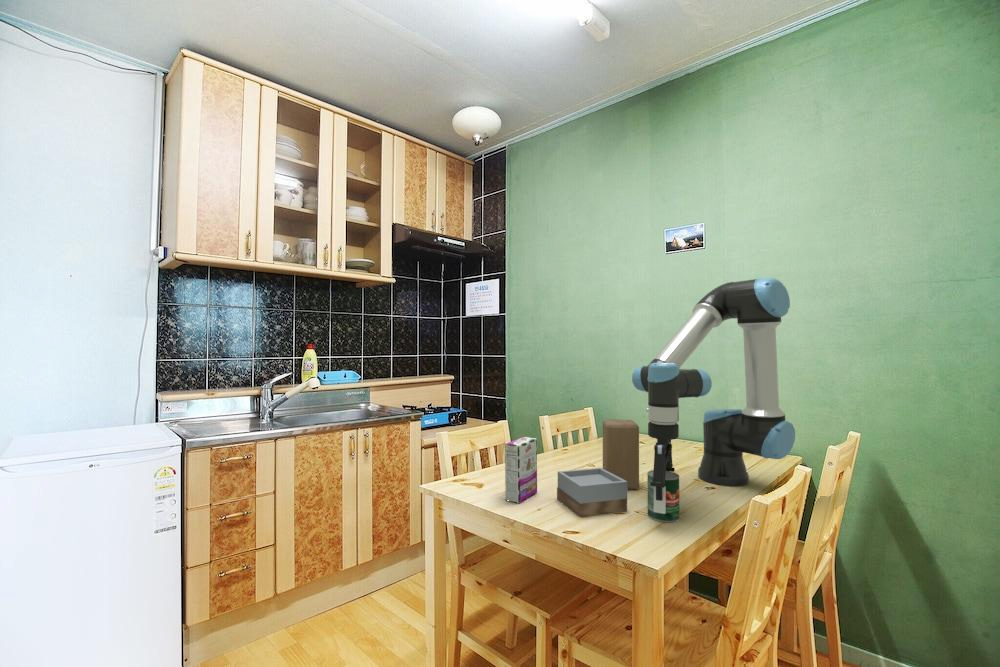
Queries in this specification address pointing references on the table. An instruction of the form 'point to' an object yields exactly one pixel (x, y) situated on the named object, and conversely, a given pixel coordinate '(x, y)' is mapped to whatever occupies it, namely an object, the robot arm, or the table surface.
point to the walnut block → (591, 505)
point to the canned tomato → (671, 498)
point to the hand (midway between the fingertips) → (663, 504)
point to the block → (622, 450)
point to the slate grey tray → (592, 485)
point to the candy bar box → (521, 469)
